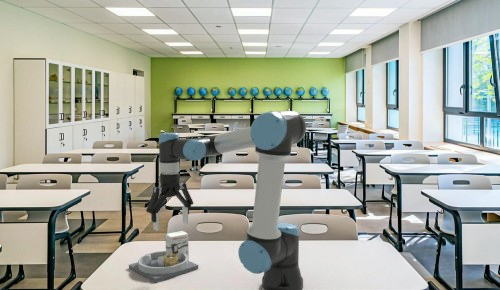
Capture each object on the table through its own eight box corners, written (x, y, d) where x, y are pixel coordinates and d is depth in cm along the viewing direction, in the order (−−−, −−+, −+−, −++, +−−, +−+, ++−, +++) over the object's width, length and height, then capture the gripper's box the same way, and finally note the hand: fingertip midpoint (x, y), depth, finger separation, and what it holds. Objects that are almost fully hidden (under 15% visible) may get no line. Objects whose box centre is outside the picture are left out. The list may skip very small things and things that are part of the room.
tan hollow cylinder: (180, 268, 183) (180, 256, 183) (169, 272, 180) (168, 259, 179) (172, 265, 187) (172, 253, 187) (161, 268, 183) (161, 256, 183)
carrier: (198, 268, 187) (198, 254, 186) (155, 282, 173) (155, 267, 173) (170, 256, 201) (170, 242, 201) (128, 268, 188) (128, 254, 187)
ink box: (170, 264, 191) (169, 236, 190) (165, 261, 195) (165, 233, 194) (189, 260, 196) (188, 233, 194) (184, 257, 200) (183, 230, 199)
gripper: (190, 168, 190) (191, 218, 192) (136, 175, 173) (137, 230, 175) (201, 170, 185) (202, 222, 187) (146, 178, 168) (148, 235, 170)
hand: (171, 226), depth 181 cm, fingers open, 13 cm apart
